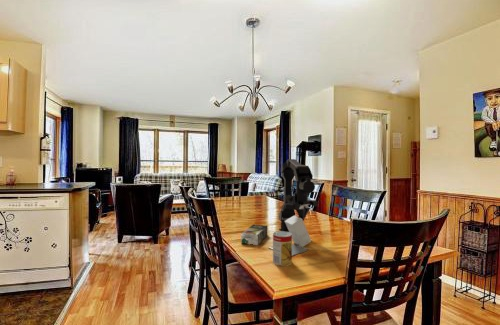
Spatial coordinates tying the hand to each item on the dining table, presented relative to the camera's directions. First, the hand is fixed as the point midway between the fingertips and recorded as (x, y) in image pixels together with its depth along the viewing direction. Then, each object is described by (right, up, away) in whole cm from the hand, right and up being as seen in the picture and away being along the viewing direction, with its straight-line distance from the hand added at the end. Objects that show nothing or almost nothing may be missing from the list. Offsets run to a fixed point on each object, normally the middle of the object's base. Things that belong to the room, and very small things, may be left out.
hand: (301, 221), depth 132 cm
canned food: (-12, -12, -22) cm, 28 cm away
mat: (-8, -12, -6) cm, 15 cm away
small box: (+1, -11, +1) cm, 11 cm away
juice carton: (-24, -12, +10) cm, 28 cm away
